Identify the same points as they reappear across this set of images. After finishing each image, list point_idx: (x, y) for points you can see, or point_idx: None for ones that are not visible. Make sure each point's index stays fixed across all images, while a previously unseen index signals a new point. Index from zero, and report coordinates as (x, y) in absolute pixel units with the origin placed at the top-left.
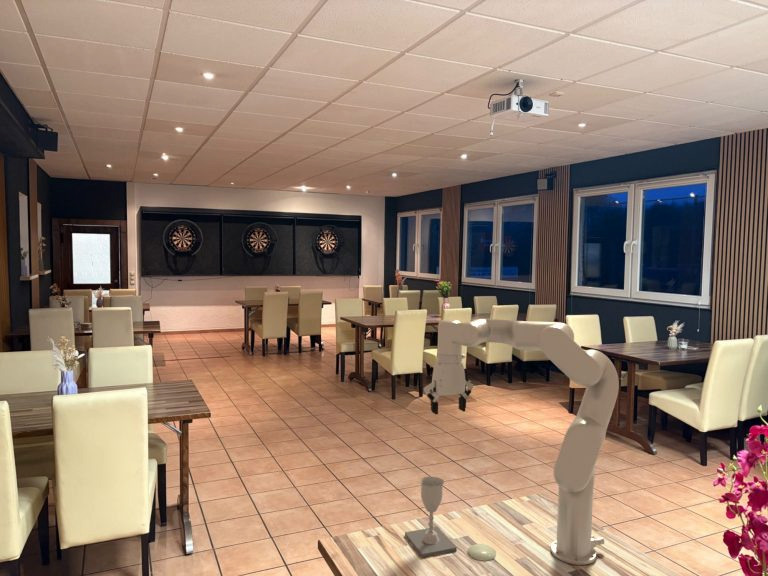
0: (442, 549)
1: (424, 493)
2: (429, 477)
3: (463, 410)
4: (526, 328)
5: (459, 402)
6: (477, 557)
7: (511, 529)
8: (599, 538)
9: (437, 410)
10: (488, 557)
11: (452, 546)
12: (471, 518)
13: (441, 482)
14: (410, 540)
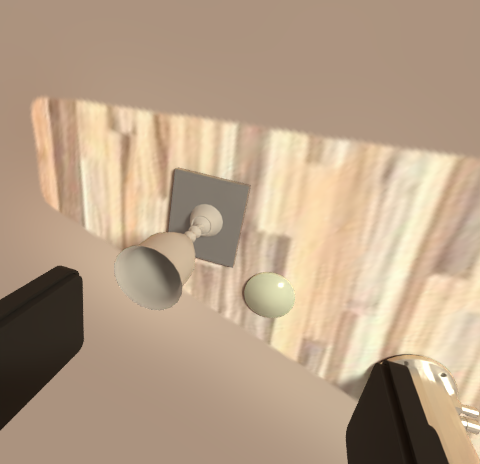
0: (205, 258)
1: (136, 266)
2: (157, 250)
3: (350, 442)
4: None
5: (389, 450)
6: (248, 303)
7: (392, 272)
8: (470, 431)
9: (50, 372)
10: (265, 313)
11: (227, 261)
12: (356, 187)
13: (180, 284)
14: (172, 197)
